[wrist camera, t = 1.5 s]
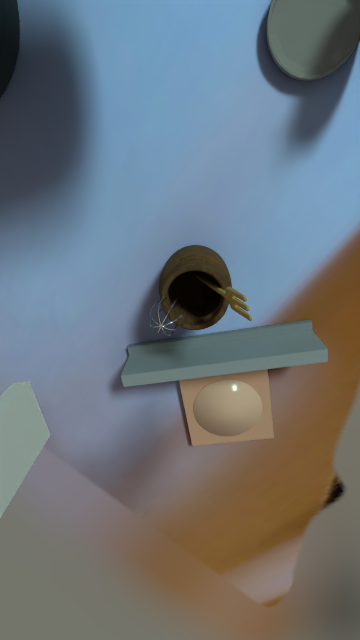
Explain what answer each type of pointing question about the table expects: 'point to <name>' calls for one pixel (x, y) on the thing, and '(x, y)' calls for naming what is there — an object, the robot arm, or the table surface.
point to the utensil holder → (197, 289)
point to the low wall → (223, 353)
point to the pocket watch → (312, 35)
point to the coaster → (228, 407)
